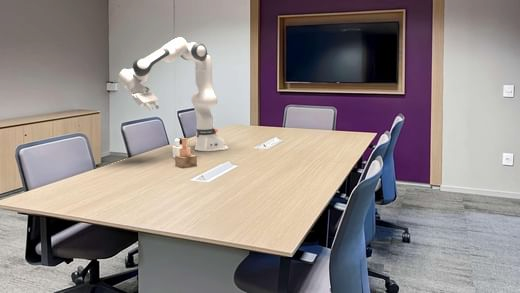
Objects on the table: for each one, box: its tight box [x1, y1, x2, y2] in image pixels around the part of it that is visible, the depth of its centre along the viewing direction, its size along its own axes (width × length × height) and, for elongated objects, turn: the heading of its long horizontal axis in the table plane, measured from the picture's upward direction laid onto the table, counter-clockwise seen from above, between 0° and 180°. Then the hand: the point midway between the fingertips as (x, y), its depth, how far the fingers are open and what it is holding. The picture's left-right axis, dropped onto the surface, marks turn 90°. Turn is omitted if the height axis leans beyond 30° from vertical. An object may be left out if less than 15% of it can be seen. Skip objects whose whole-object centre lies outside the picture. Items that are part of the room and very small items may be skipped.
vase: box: [180, 137, 192, 157], centre depth 260 cm, size 5×5×10 cm
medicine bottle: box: [171, 137, 182, 159], centre depth 283 cm, size 7×7×12 cm
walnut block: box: [174, 153, 198, 169], centre depth 261 cm, size 9×9×6 cm
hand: (155, 108), depth 270 cm, fingers open, 8 cm apart
